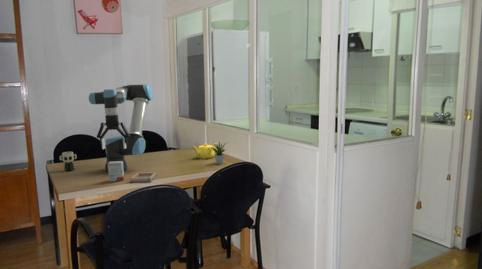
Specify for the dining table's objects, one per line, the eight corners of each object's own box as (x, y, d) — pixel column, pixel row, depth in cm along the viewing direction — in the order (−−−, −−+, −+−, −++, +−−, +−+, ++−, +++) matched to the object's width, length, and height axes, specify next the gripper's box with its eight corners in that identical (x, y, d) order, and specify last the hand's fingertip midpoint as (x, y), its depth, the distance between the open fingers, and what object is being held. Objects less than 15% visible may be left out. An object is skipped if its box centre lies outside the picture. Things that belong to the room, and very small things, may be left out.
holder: (129, 182, 234) (129, 178, 234) (137, 176, 249) (137, 172, 248) (150, 182, 233) (150, 178, 233) (157, 175, 248) (157, 172, 248)
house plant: (224, 159, 290) (223, 138, 288) (234, 162, 279) (233, 140, 277) (207, 162, 283) (206, 140, 280) (217, 165, 271) (216, 143, 269)
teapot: (199, 161, 288) (198, 147, 286) (189, 158, 300) (188, 144, 299) (223, 157, 300) (223, 143, 299) (213, 154, 313) (213, 141, 311)
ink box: (124, 178, 243) (123, 160, 242) (122, 180, 239) (121, 162, 237) (111, 179, 243) (109, 161, 241) (108, 181, 238) (107, 163, 237)
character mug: (60, 172, 266) (58, 154, 264) (61, 170, 272) (59, 152, 270) (77, 170, 270) (75, 152, 268) (77, 168, 276) (76, 150, 274)
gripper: (89, 115, 232) (92, 150, 235) (129, 114, 230) (132, 149, 233) (94, 114, 239) (97, 147, 242) (133, 113, 238) (136, 147, 241)
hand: (114, 148), depth 238 cm, fingers open, 13 cm apart
